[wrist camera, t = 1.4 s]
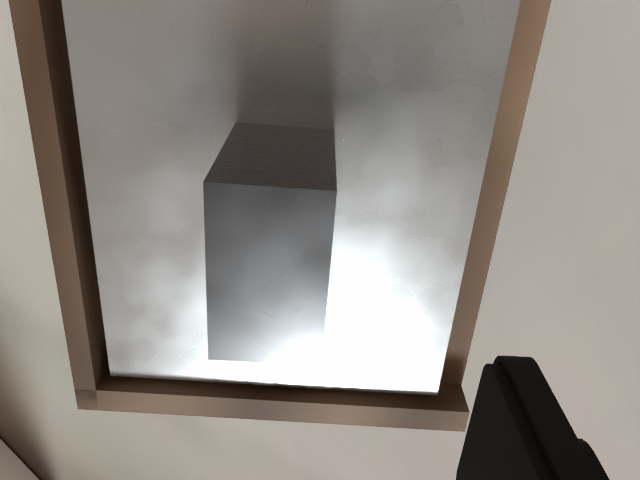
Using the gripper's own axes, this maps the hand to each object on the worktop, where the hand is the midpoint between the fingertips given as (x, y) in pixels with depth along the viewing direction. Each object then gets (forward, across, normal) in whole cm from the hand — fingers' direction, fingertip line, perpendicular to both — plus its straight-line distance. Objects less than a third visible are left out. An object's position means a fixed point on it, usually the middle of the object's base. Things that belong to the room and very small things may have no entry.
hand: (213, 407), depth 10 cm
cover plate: (+10, -1, 0) cm, 10 cm away
